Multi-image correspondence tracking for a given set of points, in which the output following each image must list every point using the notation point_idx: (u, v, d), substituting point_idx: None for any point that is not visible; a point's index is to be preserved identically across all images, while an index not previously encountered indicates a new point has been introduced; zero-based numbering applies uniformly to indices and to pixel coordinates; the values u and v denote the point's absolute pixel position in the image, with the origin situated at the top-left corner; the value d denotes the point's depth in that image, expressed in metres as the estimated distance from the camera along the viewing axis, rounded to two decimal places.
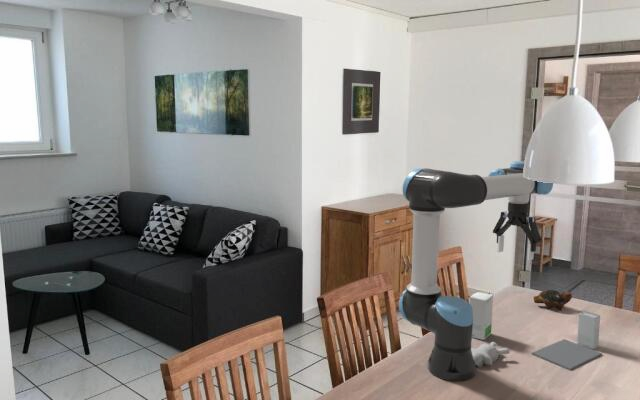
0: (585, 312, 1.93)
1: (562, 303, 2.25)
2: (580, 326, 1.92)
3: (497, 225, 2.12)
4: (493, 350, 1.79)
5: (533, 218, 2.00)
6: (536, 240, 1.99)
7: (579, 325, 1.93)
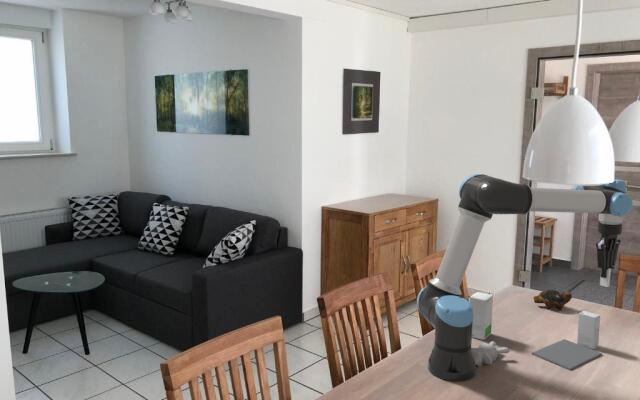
0: (585, 312, 1.93)
1: (562, 303, 2.25)
2: (580, 326, 1.92)
3: None
4: (493, 349, 1.80)
5: (599, 246, 1.88)
6: None
7: (579, 325, 1.93)
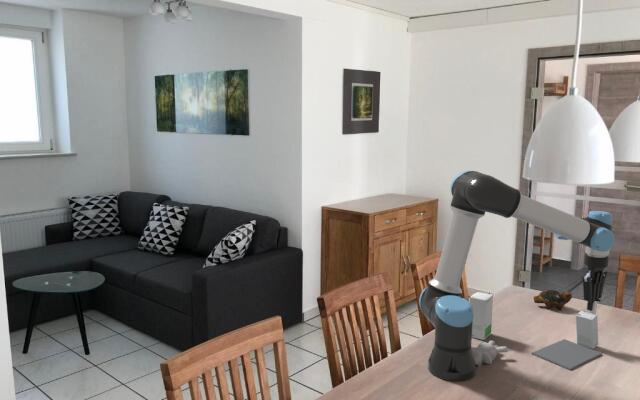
0: (582, 313, 1.91)
1: (562, 303, 2.25)
2: (578, 327, 1.92)
3: None
4: (492, 349, 1.80)
5: (585, 279, 1.86)
6: None
7: (577, 326, 1.92)
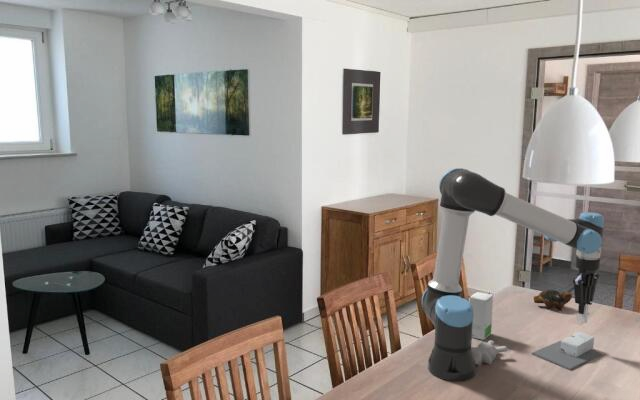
0: (564, 346, 1.85)
1: (562, 303, 2.25)
2: None
3: None
4: (492, 348, 1.80)
5: (576, 282, 1.83)
6: None
7: None
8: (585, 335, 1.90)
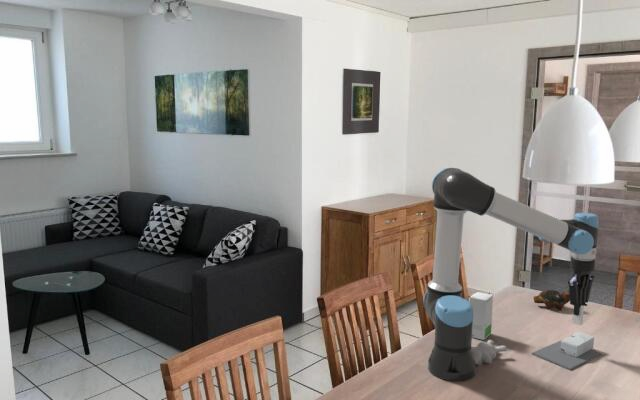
0: (564, 346, 1.85)
1: (562, 303, 2.25)
2: None
3: None
4: (492, 348, 1.80)
5: (571, 283, 1.81)
6: None
7: None
8: (585, 335, 1.90)
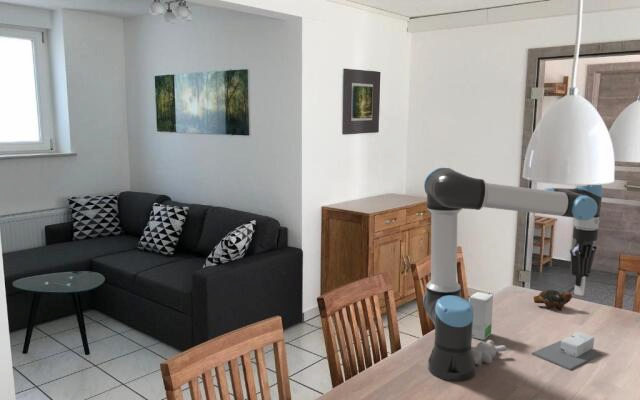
0: (564, 346, 1.85)
1: (562, 303, 2.25)
2: None
3: None
4: (491, 348, 1.81)
5: (573, 252, 1.79)
6: None
7: None
8: (585, 335, 1.90)
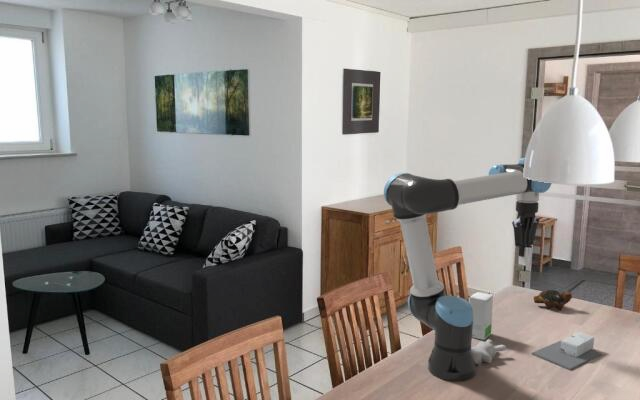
0: (564, 346, 1.85)
1: (562, 303, 2.25)
2: None
3: None
4: (491, 348, 1.81)
5: (515, 224, 1.89)
6: None
7: None
8: (585, 335, 1.90)
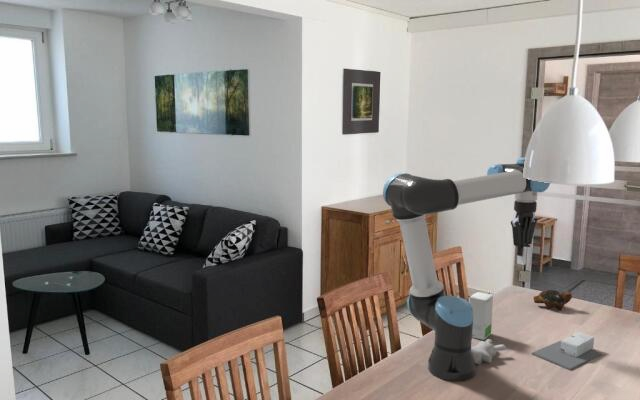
0: (564, 346, 1.85)
1: (562, 303, 2.25)
2: None
3: None
4: (491, 347, 1.81)
5: (513, 223, 1.89)
6: None
7: None
8: (585, 335, 1.90)
